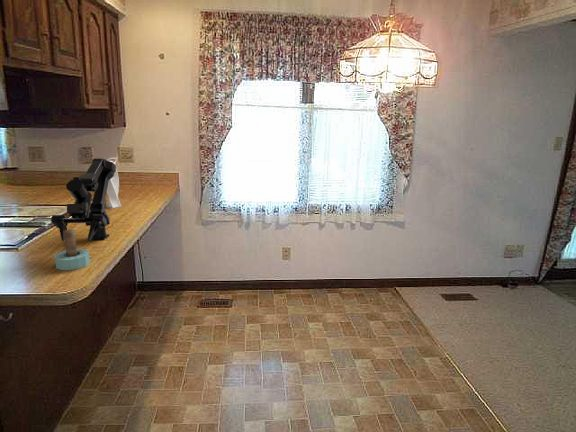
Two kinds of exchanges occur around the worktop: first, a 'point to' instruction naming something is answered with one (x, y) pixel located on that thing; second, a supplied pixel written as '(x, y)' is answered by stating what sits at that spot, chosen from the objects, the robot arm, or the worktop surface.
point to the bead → (72, 260)
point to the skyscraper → (113, 191)
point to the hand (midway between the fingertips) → (75, 240)
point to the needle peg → (70, 243)
